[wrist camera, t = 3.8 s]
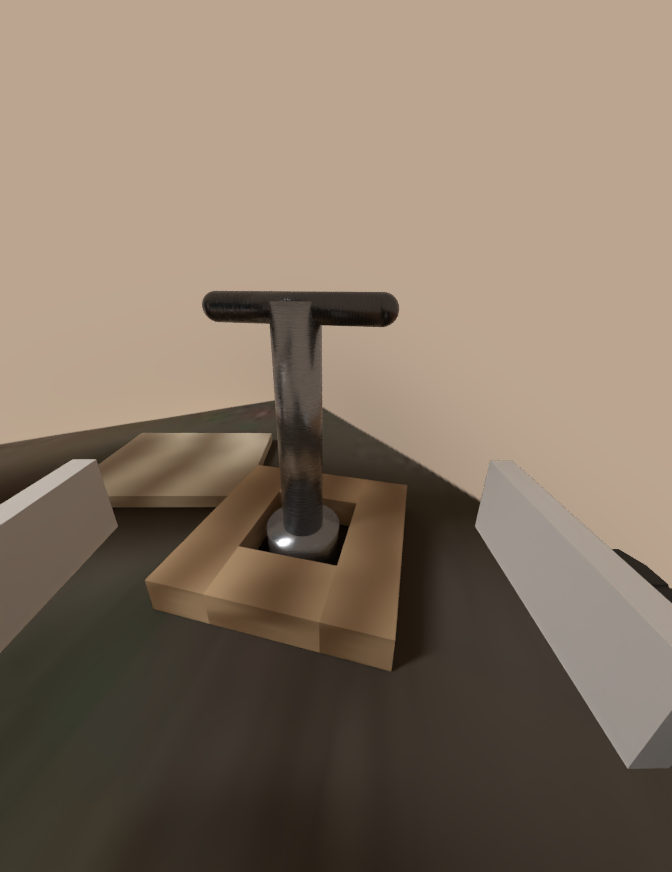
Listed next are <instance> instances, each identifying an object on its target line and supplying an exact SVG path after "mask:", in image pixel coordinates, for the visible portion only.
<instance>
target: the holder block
mask: <svg viewBox="0 0 672 872" xmlns="http://www.w3.org/2000/svg"><path fill="white" fill-rule="evenodd" d="M406 494H407V485H403V484H395V483H388V482H380V481H373V480H366V479H358V478H351V477H343V476H336V475H329V474H323V505H325V506H327V507H329V508H330V509H332V510H333V511H334V512H335V513H336V515H337V516H338V519H339V525H345V526H349V529H348V533H347V536H346V539H345V542H344V545H343V548H342V551H341V555H340V558H339V561H338V564H337V566H335V565H330V564H325V563H320V562H315V561H310V560H305V559H300V558H295V557H290V556H285V555H280V554H275V553H270V552H265V551H260V550H258V549H259V547H260V545H261V544H262V542H263V541H264V539H265V538H266V536H267V523H268V520H269V518H270V517H271V515H272V514H273V513H274V512H276V511H277V510H278V509H280V508H282V495H281V481H280V468H277V467H269V466H262V465H258V466H257V467H256V468H255V469H254V470H253V471H252V472H251V473H250V474H249V475H248V476H247V477H246V478H245V479H244V480H243V481H242V482H241V483H240V484H239V485H238V486H237V487H236V488H235V489H234V490H233V491H232V492H231V493H230V494H229V495H228V496H227V497H226V498H225V499H224V500H223V501H222V502H221V503H220V504H219V505H218V506H217V507H216V508H215V509H214V510H213V511H212V512H211V513H210V515H209V516H208V517H207V518H206V519H205V520H204V521H203V522H202V523H201V524H200V525H199V526H198V527H197V528H196V529H195V530H194V531H193V532H192V533H191V534H190V535H189V536H188V537H187V538H186V539H185V540H184V541H183V542H182V543H181V544H180V545H179V546H178V547H177V548H176V549H175V550H174V551H173V552H172V553H171V554H170V555H169V556H168V557H167V558H166V559H165V560H164V561H163V562H162V563H161V564H160V565H159V566H158V567H157V568H156V569H155V570H154V571H153V572H152V573H151V574H150V575H149V576H148V578H147V579H146V580H145V583H146V586H147V589H148V592H149V595H150V599H151V602H152V605H153V608H154V609H155V610H159V611H163V612H166V613H170V614H174V615H178V616H182V617H185V618H189V619H193V620H197V621H201V622H205V623H208V624H212V625H216V626H220V627H224V628H227V629H231V630H235V631H239V632H243V633H246V634H250V635H254V636H258V637H262V638H266V639H269V640H273V641H277V642H281V643H285V644H288V645H292V646H296V647H300V648H304V649H307V650H311V651H315V652H319V653H323V654H326V655H330V656H334V657H338V658H342V659H346V660H349V661H353V662H357V663H361V664H365V665H368V666H372V667H376V668H380V669H384V670H387V671H391V670H392V662H393V654H394V647H395V638H396V625H397V612H398V598H399V585H400V572H401V559H402V546H403V533H404V520H405V507H406Z"/></svg>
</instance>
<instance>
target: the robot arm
mask: <svg viewBox="0 0 672 872" xmlns="http://www.w3.org/2000/svg"><path fill="white" fill-rule="evenodd" d="M117 527H118V525H117V522H116V519H115V516H114V512H113V509H112V506H111V503H110V500H109V497H108V494H107V491H106V488H105V485H104V482H103V479H102V476H101V473H100V470H99V467H98V463H97V460H96V459H72V460H71V461H69V462H68V463H66V464H64V465H63V466H61V467H60V468H58V469H56V470H55V471H53V472H52V473H50V474H48V475H47V476H45V477H44V478H42V479H40V480H39V481H37V482H36V483H34V484H32V485H31V486H29V487H28V488H26V489H24V490H23V491H21V492H20V493H18V494H16V495H15V496H13V497H12V498H10V499H8V500H7V501H5V502H4V503H2V504H0V652H1V651H2V650H3V649H4V648H5V647H6V646H7V645H8V644H9V643H10V642H11V641H12V640H13V639H14V637H15V636H16V635H17V634H18V633H19V632H20V631H21V630H22V629H23V628H24V627H25V626H26V625H27V624H28V622H29V621H30V620H31V619H32V618H33V617H34V616H35V615H36V614H37V613H38V612H39V611H40V610H41V609H42V607H43V606H44V605H45V604H46V603H47V602H48V601H49V600H50V599H51V598H52V597H53V596H54V595H55V594H56V592H57V591H58V590H59V589H60V588H61V587H62V586H63V585H64V584H65V583H66V582H67V581H68V580H69V579H70V577H71V576H72V575H73V574H74V573H75V572H76V571H77V570H78V569H79V568H80V567H81V566H82V565H83V564H84V562H85V561H86V560H87V559H88V558H89V557H90V556H91V555H92V554H93V553H94V552H95V551H96V550H97V549H98V547H99V546H100V545H101V544H102V543H103V542H104V541H105V540H106V539H107V538H108V537H109V536H110V535H111V534H112V532H113V531H114V530H115V529H116V528H117ZM475 527H476V529H477V530H478V532H479V533H480V535H481V537H482V538H483V540H484V541H485V543H486V545H487V546H488V548H489V549H490V551H491V553H492V554H493V556H494V557H495V559H496V560H497V562H498V564H499V565H500V567H501V568H502V570H503V572H504V573H505V575H506V576H507V578H508V580H509V581H510V583H511V584H512V586H513V587H514V589H515V591H516V592H517V594H518V595H519V597H520V599H521V600H522V602H523V603H524V605H525V607H526V608H527V610H528V611H529V613H530V614H531V616H532V618H533V619H534V621H535V622H536V624H537V626H538V627H539V629H540V630H541V632H542V634H543V635H544V637H545V638H546V640H547V641H548V643H549V645H550V646H551V648H552V649H553V651H554V653H555V654H556V656H557V657H558V659H559V661H560V662H561V664H562V665H563V667H564V668H565V670H566V672H567V673H568V675H569V676H570V678H571V680H572V681H573V683H574V684H575V686H576V688H577V689H578V691H579V692H580V694H581V695H582V697H583V699H584V700H585V702H586V703H587V705H588V707H589V708H590V710H591V711H592V713H593V715H594V716H595V718H596V719H597V721H598V722H599V724H600V726H601V727H602V729H603V730H604V732H605V734H606V735H607V737H608V738H609V740H610V742H611V743H612V745H613V746H614V748H615V749H616V751H617V753H618V754H619V756H620V757H621V759H622V761H623V762H624V764H625V765H626V767H627V769H645V768H670V767H671V766H672V589H670V588H669V587H668V584H667V583H666V582H665V581H664V580H662V579H661V578H660V577H659V576H658V575H656V574H655V573H654V572H653V571H652V570H650V569H649V568H648V567H647V566H646V565H644V564H643V563H641V562H639V561H638V560H636V559H634V558H633V557H631V556H629V555H627V554H626V553H624V552H622V551H621V550H619V549H611V548H609V547H608V546H607V545H606V544H605V543H604V542H603V541H602V540H600V539H599V538H598V537H597V536H596V535H595V534H593V532H592V531H590V530H589V529H588V528H587V527H586V526H585V525H584V524H583V523H581V522H580V521H579V520H578V519H577V518H576V517H575V516H574V515H573V514H572V513H570V512H569V511H568V510H567V509H566V508H565V507H564V506H563V505H561V504H560V503H559V502H558V501H557V500H556V499H555V498H554V497H553V496H551V495H550V494H549V493H548V492H547V491H546V490H545V489H543V487H541V486H540V485H539V484H538V483H537V482H536V481H535V480H534V479H532V478H531V477H530V476H529V475H528V474H527V473H526V472H525V471H524V470H522V469H521V468H520V467H519V466H518V465H517V464H516V463H515V462H513V461H490V463H489V467H488V472H487V476H486V481H485V485H484V490H483V493H482V498H481V502H480V506H479V511H478V515H477V520H476V524H475Z"/></svg>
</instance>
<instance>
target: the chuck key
mask: <svg viewBox="0 0 672 872" xmlns="http://www.w3.org/2000/svg"><path fill="white" fill-rule="evenodd" d="M202 307H203V311H204V313H205V314H206V316H207V317H208V318H210V319H211V320H213V321H215V322H234V323H267V324H270V334H271V349H272V363H273V377H274V393H275V407H276V422H277V437H278V451H279V466H280V481H281V495H282V508H280V509H278V510H277V511H276V512H274V513H273V514H272V515H271V517H270V518H269V520H268V523H267V537H268V547H269V552H270V553H275V554H280V555H285V556H290V557H295V558H300V559H305V560H310V561H315V562H320V563H325V564H330V565H332V564H333V562H334V561H335V560H336V558H337V556H338V552H339V519H338V516H337V515H336V513H335V512H334V511H333V510H332V509H330V508H329V507H327V506H325V505H323V456H322V327H321V326H322V325H332V326H364V327H385V326H388V325H390V324H392V323H393V322H394V321H395V320H396V318H397V316H398V313H399V304H398V302H397V300H396V298H395V297H394V296H393V295H391V294H390V293H387V292H285V291H283V292H282V291H277V292H276V291H212V292H209V293H208V294H206V296H205V297H204V299H203V302H202Z"/></svg>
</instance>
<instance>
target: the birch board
mask: <svg viewBox="0 0 672 872" xmlns="http://www.w3.org/2000/svg"><path fill="white" fill-rule="evenodd" d="M271 444H272V433H141V434H140V435H139V436H137V437H136V438H134V439H133V440H132V441H130V442H129V443H128V444H126V445H125V446H123V447H122V448H121V449H119V450H118V451H116V452H115V453H114V454H112V455H111V456H109V457H108V458H107V459H105V460H104V461H103V462H101V463H100V464H98V467H99V470H100V473H101V476H102V479H103V482H104V485H105V488H106V491H107V494H108V497H109V500H110V503H111V506H112V507H217V506H218V505H219V504H220V503H221V502H222V501H223V500H224V499H225V498H226V497H227V496H228V495H229V494H230V493H231V492H232V491H233V490H234V489H235V488H236V487H237V486H238V485H239V484H240V483H241V482H242V481H243V480H244V479H245V478H246V477H247V476H248V475H249V474H250V473H251V472H252V471H253V470H254V469H255V468H256V467H257V466H258V465H262V466H263V464H264V461H265V459H266V456H267V454H268V451H269V449H270V446H271Z"/></svg>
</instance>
